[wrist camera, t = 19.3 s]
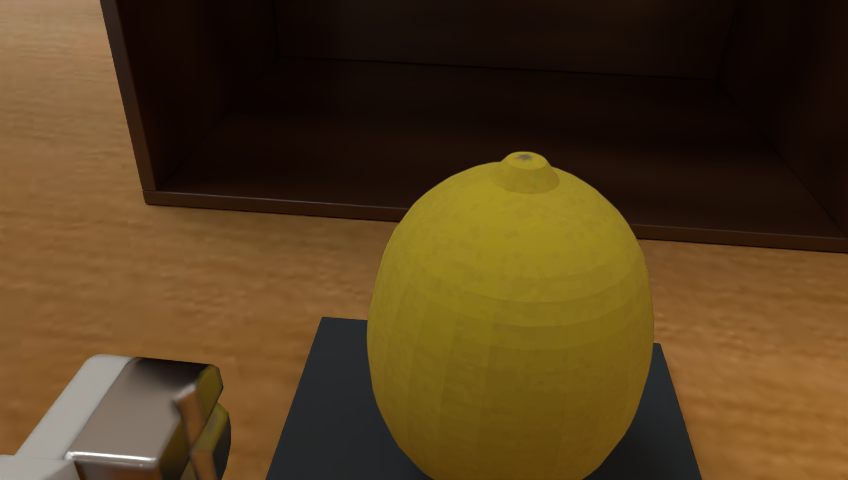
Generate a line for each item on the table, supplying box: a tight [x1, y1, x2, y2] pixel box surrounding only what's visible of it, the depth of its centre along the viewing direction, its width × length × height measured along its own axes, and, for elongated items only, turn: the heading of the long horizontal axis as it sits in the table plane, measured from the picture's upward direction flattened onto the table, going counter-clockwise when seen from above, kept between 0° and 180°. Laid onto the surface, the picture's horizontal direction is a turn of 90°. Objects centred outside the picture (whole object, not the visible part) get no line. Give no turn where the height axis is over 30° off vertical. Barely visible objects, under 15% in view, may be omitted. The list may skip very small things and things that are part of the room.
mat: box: [266, 317, 702, 480], centre depth 16 cm, size 10×10×1 cm
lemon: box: [367, 152, 654, 480], centre depth 13 cm, size 6×6×8 cm
